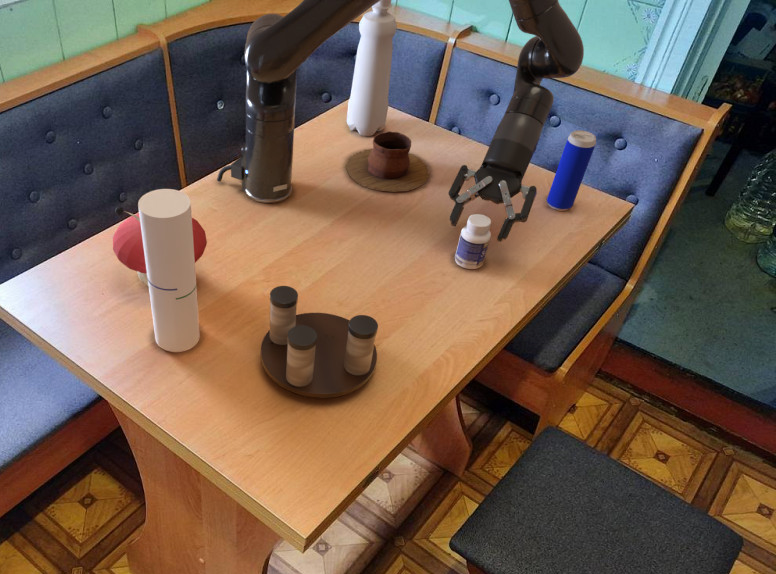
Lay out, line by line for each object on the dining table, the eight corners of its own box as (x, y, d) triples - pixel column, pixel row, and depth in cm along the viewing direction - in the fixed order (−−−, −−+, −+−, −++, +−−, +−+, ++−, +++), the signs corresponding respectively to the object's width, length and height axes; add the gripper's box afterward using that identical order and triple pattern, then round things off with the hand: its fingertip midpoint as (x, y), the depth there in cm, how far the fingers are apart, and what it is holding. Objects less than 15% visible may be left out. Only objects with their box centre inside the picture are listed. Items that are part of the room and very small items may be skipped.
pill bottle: (482, 271, 131) (494, 230, 125) (453, 267, 132) (464, 226, 126) (483, 254, 135) (494, 213, 129) (454, 250, 136) (464, 209, 129)
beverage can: (572, 200, 149) (598, 132, 138) (571, 214, 145) (597, 145, 134) (546, 195, 150) (570, 127, 139) (544, 208, 146) (568, 139, 135)
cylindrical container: (155, 322, 119) (139, 189, 101) (199, 321, 120) (190, 188, 102) (154, 353, 114) (136, 218, 96) (200, 351, 115) (190, 217, 97)
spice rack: (284, 410, 105) (286, 364, 98) (245, 330, 116) (245, 284, 110) (396, 381, 109) (406, 335, 103) (347, 307, 121) (353, 261, 114)
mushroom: (196, 244, 135) (192, 172, 124) (218, 297, 124) (216, 223, 114) (111, 259, 131) (99, 185, 120) (127, 314, 121) (115, 239, 110)
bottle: (363, 115, 172) (379, -23, 150) (393, 129, 168) (414, -11, 146) (337, 127, 167) (350, -13, 146) (367, 142, 163) (385, 0, 141)
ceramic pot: (434, 194, 149) (441, 163, 144) (348, 191, 149) (351, 160, 144) (423, 150, 161) (429, 120, 156) (343, 147, 161) (346, 117, 156)
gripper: (472, 127, 126) (435, 215, 127) (553, 149, 121) (514, 240, 123) (475, 142, 133) (440, 225, 134) (552, 164, 128) (515, 250, 130)
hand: (475, 232), depth 129 cm, fingers open, 8 cm apart
